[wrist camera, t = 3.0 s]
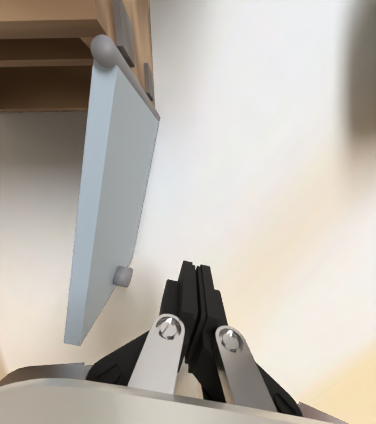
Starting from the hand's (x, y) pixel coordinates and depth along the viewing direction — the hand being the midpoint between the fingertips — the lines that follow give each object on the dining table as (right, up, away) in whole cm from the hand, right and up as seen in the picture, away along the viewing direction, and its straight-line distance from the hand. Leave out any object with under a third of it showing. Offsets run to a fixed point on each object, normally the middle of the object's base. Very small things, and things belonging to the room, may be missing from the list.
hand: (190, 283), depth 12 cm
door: (-5, +6, +9) cm, 12 cm away
